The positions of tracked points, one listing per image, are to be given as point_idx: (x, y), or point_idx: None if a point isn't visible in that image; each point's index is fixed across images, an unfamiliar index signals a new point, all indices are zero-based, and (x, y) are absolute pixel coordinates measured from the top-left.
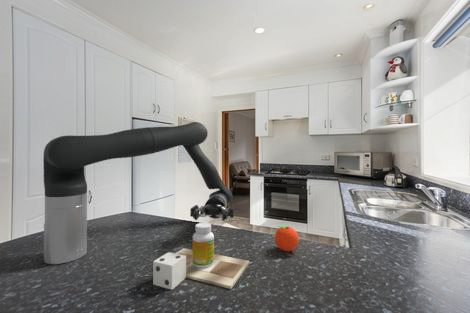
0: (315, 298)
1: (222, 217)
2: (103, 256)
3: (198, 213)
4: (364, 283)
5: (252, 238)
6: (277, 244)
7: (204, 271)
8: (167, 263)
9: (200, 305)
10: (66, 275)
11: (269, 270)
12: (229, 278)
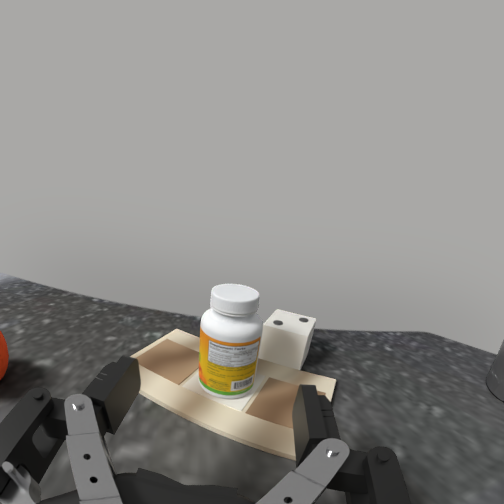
0: (82, 302)
1: (138, 372)
2: (470, 404)
3: (302, 430)
4: (12, 297)
5: None
6: (5, 367)
7: None
8: (288, 313)
9: None
10: (447, 363)
11: (87, 347)
12: (174, 339)
